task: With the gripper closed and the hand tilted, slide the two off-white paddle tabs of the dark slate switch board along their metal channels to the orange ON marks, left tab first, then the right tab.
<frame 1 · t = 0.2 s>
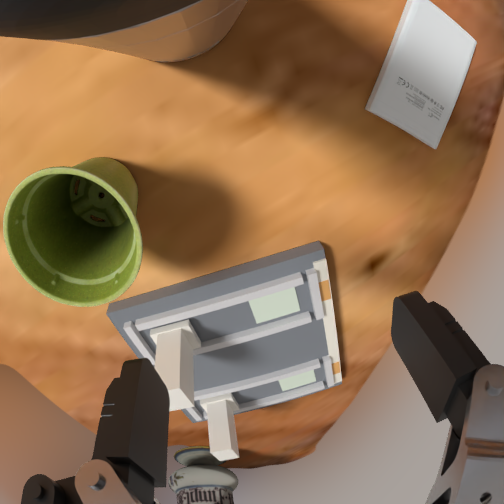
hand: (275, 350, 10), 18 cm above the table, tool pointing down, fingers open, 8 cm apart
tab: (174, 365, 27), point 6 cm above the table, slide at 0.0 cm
plant pot: (103, 190, 24), on the table
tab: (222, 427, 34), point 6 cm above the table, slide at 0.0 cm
apothecary jar: (201, 455, 50), on the table
external hard drive: (420, 69, 22), on the table
switch board: (241, 350, 35), on the table
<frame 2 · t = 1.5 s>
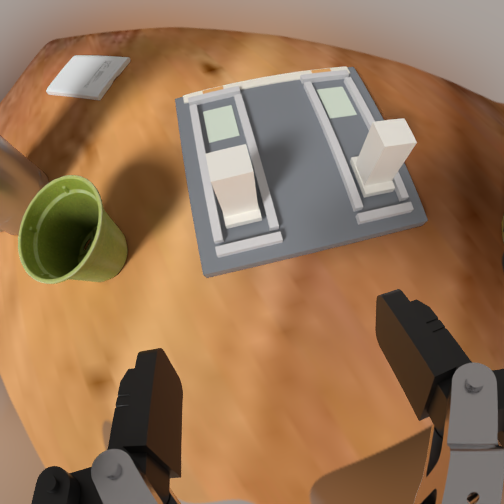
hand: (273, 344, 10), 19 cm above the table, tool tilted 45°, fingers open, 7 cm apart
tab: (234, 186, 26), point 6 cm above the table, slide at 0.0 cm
plant pot: (103, 253, 32), on the table
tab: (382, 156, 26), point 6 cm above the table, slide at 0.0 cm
external hard drive: (89, 80, 40), on the table
switch board: (292, 155, 33), on the table
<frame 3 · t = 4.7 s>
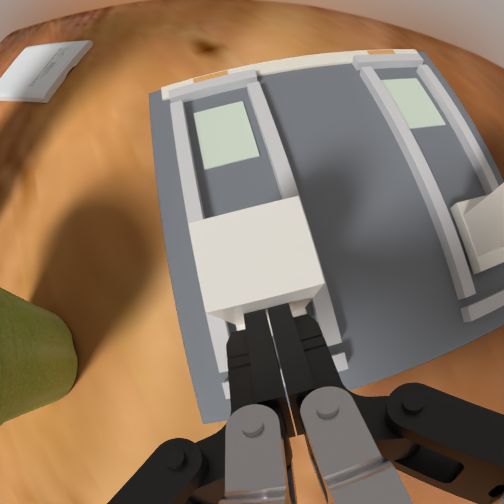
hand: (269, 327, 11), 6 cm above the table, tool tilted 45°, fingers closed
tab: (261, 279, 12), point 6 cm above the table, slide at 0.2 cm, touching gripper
plant pot: (45, 355, 18), on the table
external hard drive: (40, 76, 26), on the table
switch board: (352, 191, 19), on the table
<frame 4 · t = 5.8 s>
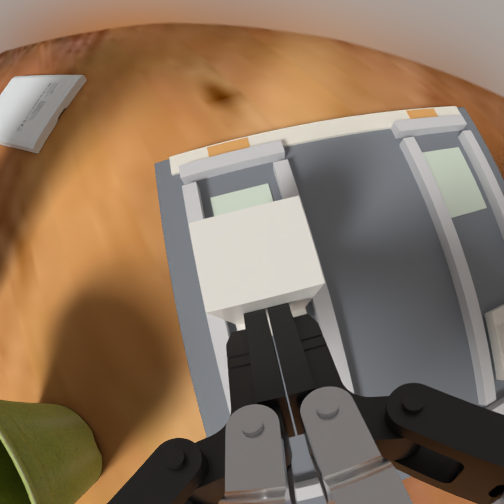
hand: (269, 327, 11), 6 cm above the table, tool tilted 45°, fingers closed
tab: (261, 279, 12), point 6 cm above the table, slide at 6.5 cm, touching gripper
plant pot: (66, 445, 16), on the table
external hard drive: (29, 114, 24), on the table
switch board: (386, 293, 17), on the table
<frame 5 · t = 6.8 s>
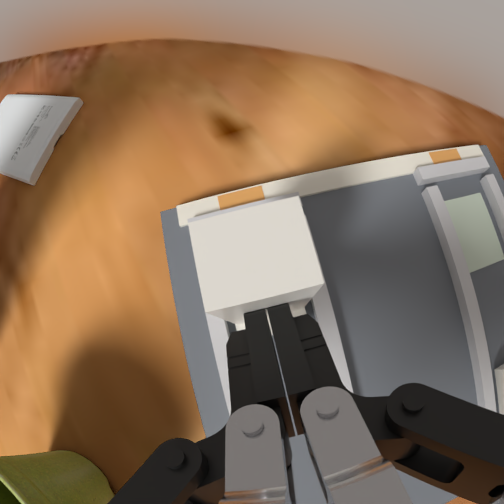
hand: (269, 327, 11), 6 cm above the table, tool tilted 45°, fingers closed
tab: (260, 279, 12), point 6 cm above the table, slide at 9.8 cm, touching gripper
plant pot: (80, 487, 15), on the table
external hard drive: (24, 138, 23), on the table
switch board: (400, 350, 16), on the table
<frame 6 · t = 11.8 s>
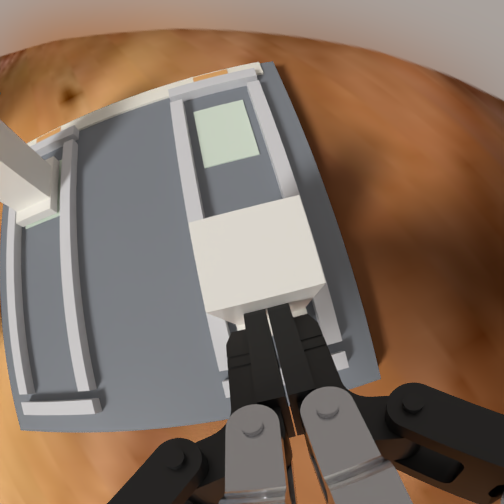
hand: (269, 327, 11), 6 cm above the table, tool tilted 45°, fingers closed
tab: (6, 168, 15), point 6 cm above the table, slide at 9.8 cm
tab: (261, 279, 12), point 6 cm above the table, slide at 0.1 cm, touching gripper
switch board: (139, 243, 19), on the table
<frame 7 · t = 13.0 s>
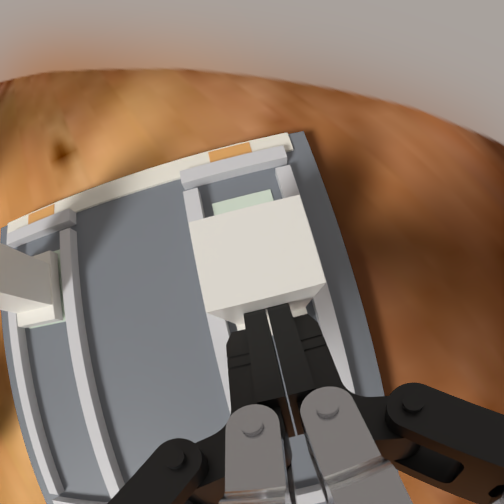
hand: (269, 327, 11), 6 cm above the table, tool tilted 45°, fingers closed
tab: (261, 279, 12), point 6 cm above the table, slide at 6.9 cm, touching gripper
switch board: (159, 357, 17), on the table
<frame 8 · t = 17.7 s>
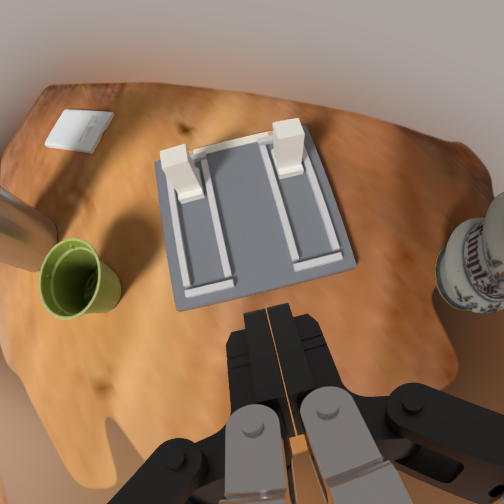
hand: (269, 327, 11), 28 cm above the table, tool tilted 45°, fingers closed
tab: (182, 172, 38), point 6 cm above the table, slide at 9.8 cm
plant pot: (103, 290, 41), on the table
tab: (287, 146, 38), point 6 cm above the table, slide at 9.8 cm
apothecary jar: (462, 274, 38), on the table
external hard drive: (80, 133, 49), on the table
switch board: (247, 212, 42), on the table
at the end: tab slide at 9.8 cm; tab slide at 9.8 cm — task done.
